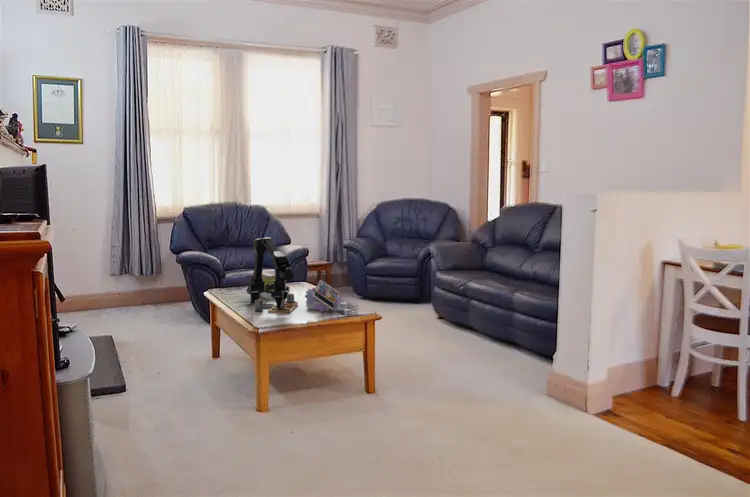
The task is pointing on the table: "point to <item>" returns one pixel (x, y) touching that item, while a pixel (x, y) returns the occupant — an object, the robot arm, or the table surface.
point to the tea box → (268, 279)
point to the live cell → (282, 305)
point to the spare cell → (258, 305)
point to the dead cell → (290, 298)
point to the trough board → (287, 310)
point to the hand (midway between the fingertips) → (280, 306)
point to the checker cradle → (268, 306)
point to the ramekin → (291, 304)
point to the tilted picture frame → (322, 297)
